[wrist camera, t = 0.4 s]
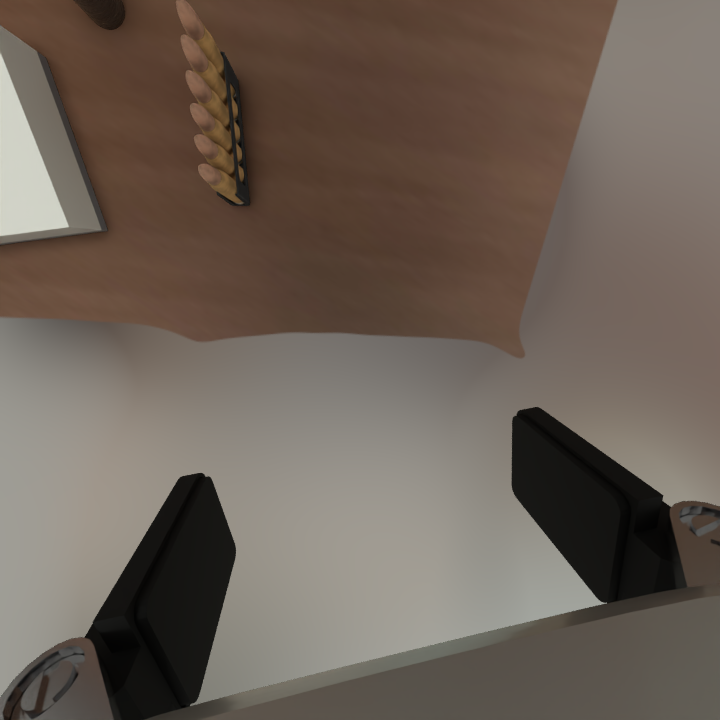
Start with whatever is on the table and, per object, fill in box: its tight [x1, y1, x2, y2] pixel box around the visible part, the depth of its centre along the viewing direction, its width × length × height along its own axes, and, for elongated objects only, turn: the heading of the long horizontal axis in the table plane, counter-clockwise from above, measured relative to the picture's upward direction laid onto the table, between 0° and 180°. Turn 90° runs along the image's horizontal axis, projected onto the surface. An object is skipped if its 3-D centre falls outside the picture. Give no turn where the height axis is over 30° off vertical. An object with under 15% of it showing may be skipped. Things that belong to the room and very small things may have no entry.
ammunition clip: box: [176, 0, 250, 206], centre depth 27 cm, size 11×2×12 cm, turn 0°
